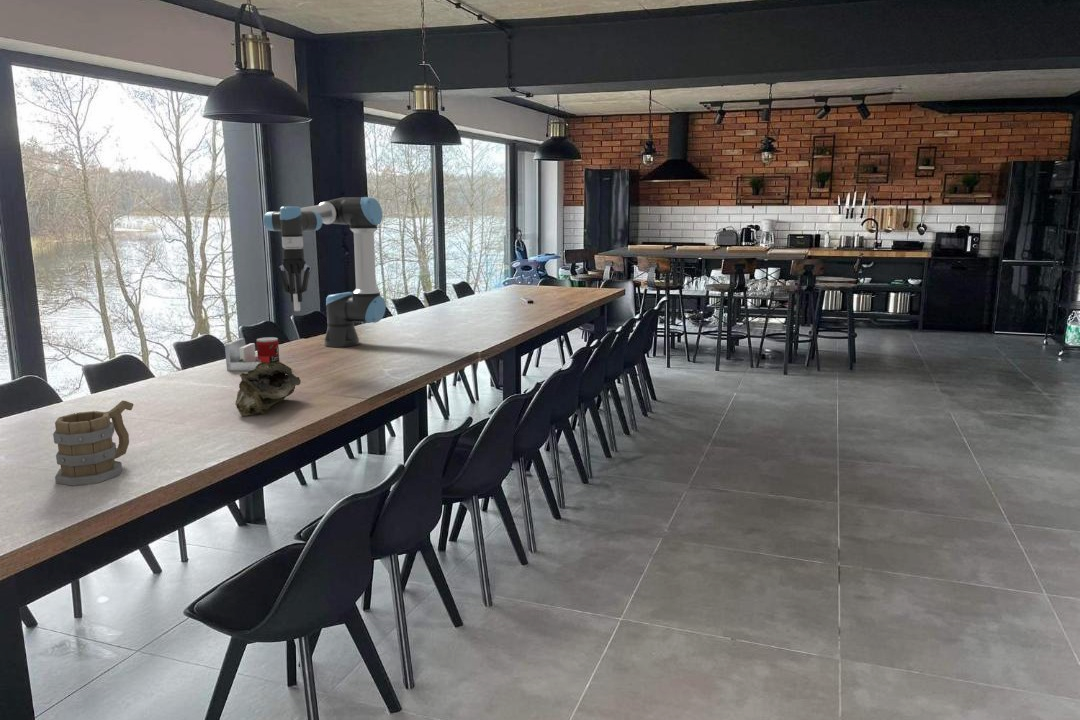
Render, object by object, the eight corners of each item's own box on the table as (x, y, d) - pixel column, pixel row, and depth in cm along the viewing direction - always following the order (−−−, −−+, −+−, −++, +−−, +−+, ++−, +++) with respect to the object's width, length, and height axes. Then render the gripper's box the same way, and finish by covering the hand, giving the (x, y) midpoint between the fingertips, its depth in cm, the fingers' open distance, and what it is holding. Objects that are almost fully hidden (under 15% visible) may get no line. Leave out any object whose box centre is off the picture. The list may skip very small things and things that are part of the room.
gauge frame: (242, 363, 304) (240, 338, 303) (274, 363, 304) (273, 338, 302) (226, 370, 291) (224, 344, 289) (260, 370, 290) (258, 344, 288)
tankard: (84, 488, 168) (76, 422, 165) (44, 481, 172) (35, 417, 169) (159, 461, 186) (153, 400, 183) (121, 455, 190) (114, 396, 187)
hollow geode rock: (289, 409, 251) (258, 376, 251) (314, 384, 248) (283, 350, 248) (242, 431, 224) (207, 393, 224) (269, 403, 221) (234, 364, 221)
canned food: (273, 369, 293) (271, 340, 290) (254, 368, 294) (252, 340, 292) (283, 365, 300) (281, 337, 298) (264, 364, 301) (262, 336, 299)
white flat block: (252, 363, 303) (250, 343, 301) (256, 363, 302) (254, 343, 301) (237, 370, 289) (236, 349, 288) (241, 370, 289) (240, 349, 288)
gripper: (272, 248, 284) (276, 312, 289) (306, 248, 284) (310, 312, 288) (279, 247, 292) (284, 309, 296) (313, 247, 291) (317, 309, 296)
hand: (297, 310), depth 292 cm, fingers closed
